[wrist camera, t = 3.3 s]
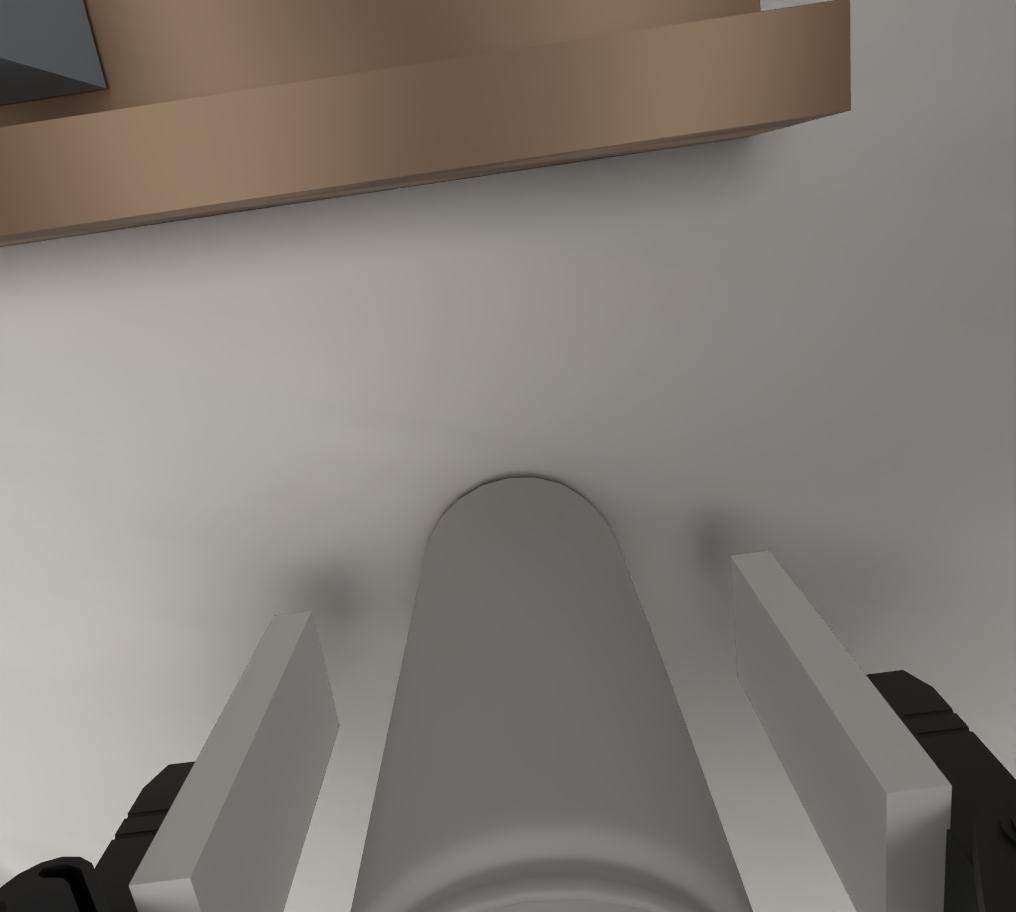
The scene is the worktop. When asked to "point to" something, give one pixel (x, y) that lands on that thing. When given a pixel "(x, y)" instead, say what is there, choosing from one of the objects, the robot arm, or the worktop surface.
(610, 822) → the beverage can
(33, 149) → the bay
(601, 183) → the worktop surface
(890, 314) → the worktop surface
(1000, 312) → the worktop surface
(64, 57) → the blue recessed block
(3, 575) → the worktop surface
